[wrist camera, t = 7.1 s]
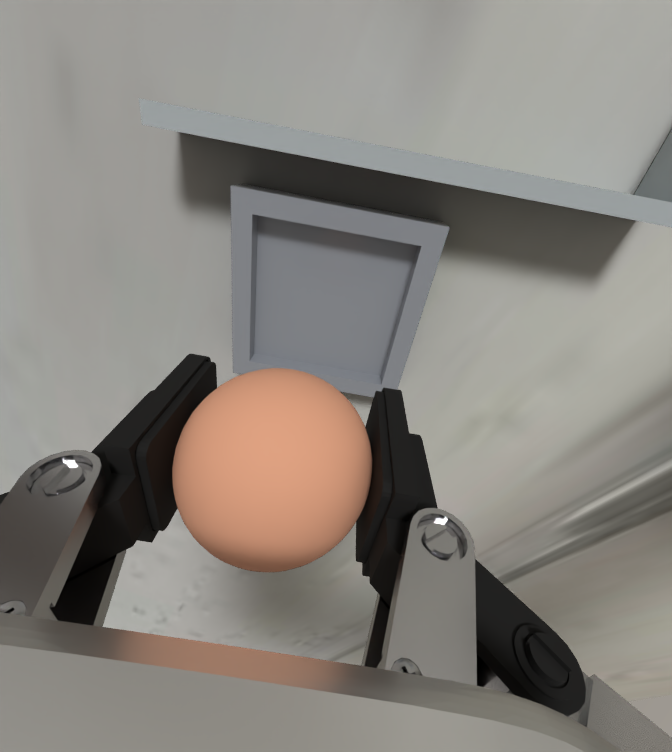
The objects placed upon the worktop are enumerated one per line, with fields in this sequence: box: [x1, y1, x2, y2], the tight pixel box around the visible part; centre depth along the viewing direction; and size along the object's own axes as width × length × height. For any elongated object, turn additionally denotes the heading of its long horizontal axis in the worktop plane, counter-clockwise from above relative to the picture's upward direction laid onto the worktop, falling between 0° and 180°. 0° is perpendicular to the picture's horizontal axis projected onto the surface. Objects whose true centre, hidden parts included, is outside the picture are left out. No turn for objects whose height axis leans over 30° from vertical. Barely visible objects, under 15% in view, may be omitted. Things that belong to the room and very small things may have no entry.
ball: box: [172, 368, 372, 572], centre depth 9 cm, size 5×5×5 cm
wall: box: [139, 98, 672, 227], centre depth 13 cm, size 22×6×3 cm, turn 81°
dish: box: [231, 184, 450, 397], centre depth 18 cm, size 10×10×2 cm
